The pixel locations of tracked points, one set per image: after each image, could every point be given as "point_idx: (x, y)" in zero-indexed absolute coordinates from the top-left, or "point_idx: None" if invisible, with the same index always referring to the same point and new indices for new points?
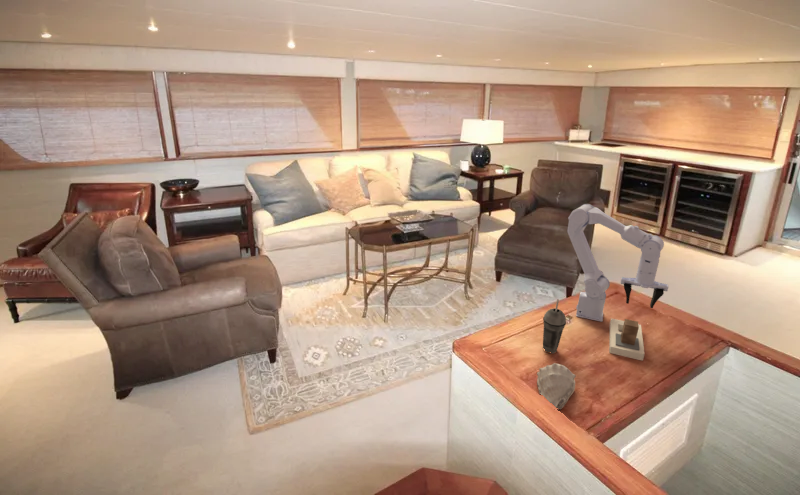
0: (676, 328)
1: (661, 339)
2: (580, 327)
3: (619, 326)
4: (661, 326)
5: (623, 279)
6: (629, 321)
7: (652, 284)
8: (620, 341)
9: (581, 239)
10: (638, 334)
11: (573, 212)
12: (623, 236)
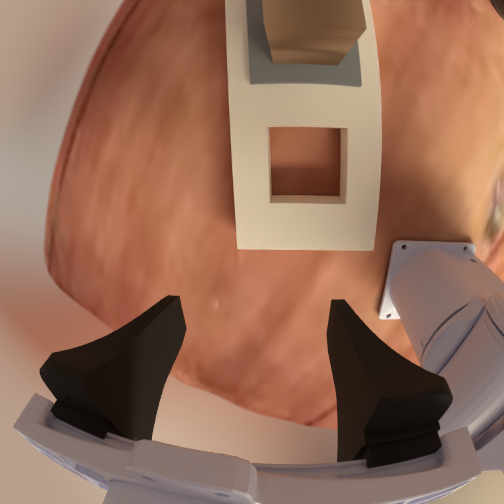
0: (131, 303)
1: (161, 202)
2: (469, 161)
3: (335, 200)
4: None
5: (469, 478)
6: (330, 1)
7: (111, 484)
8: None
9: None
10: (248, 139)
11: None
12: None
